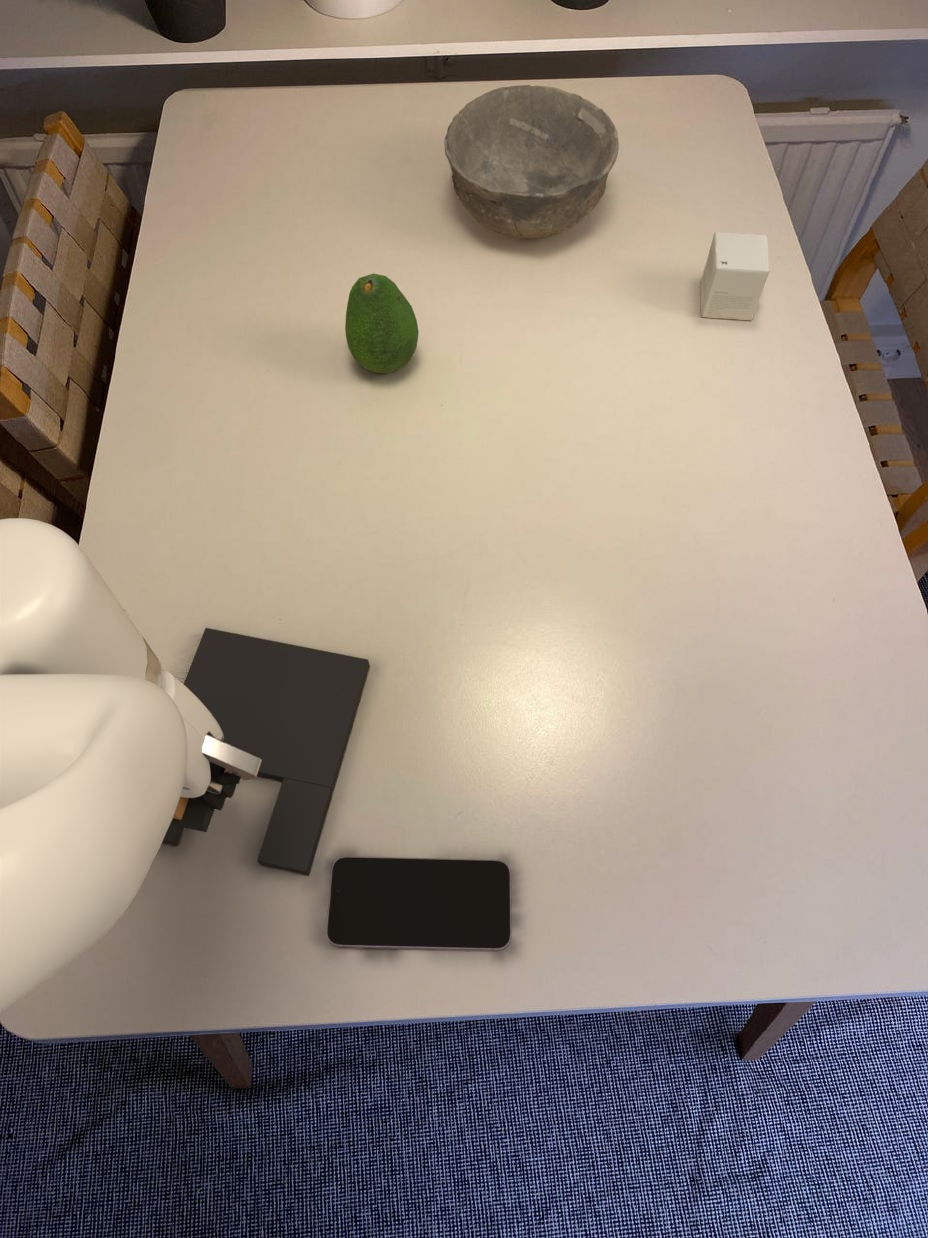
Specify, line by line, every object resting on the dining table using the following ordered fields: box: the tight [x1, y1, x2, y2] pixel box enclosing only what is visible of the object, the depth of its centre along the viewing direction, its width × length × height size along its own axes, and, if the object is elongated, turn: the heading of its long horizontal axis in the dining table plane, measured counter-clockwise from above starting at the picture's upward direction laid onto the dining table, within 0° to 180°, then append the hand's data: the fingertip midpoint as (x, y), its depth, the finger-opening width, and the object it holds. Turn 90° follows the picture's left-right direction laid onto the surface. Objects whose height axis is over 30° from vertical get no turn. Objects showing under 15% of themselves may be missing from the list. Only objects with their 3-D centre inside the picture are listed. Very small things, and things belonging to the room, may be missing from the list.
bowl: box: [443, 84, 620, 239], centre depth 112 cm, size 21×21×10 cm
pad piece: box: [170, 795, 216, 833], centre depth 67 cm, size 6×6×4 cm
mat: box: [162, 627, 371, 876], centre depth 82 cm, size 20×16×2 cm
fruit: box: [344, 272, 419, 374], centre depth 99 cm, size 8×8×12 cm
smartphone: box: [325, 855, 512, 952], centre depth 76 cm, size 7×1×15 cm
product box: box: [699, 231, 771, 321], centre depth 106 cm, size 6×6×7 cm
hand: (178, 780), depth 68 cm, fingers closed on pad piece, 6 cm apart
